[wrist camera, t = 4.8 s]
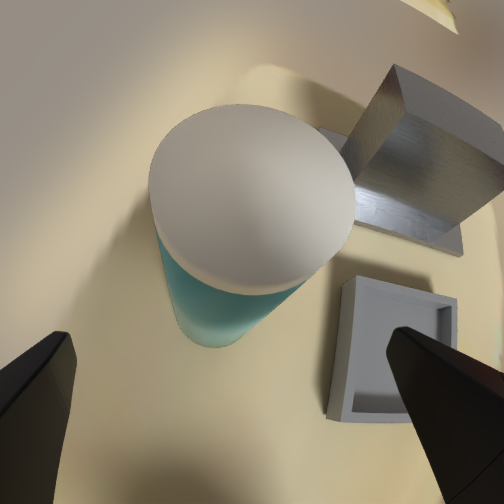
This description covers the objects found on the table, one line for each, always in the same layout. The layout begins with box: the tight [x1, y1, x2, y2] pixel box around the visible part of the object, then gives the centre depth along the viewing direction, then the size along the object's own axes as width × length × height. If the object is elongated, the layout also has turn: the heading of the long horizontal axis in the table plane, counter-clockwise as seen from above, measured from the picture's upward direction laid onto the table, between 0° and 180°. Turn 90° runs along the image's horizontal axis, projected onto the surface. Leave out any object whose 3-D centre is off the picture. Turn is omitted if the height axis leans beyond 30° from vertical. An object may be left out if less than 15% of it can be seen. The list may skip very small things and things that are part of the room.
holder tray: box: [326, 275, 457, 423], centre depth 18 cm, size 9×9×2 cm
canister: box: [149, 104, 356, 348], centre depth 12 cm, size 4×4×13 cm
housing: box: [318, 64, 504, 257], centre depth 20 cm, size 8×14×10 cm, turn 80°
